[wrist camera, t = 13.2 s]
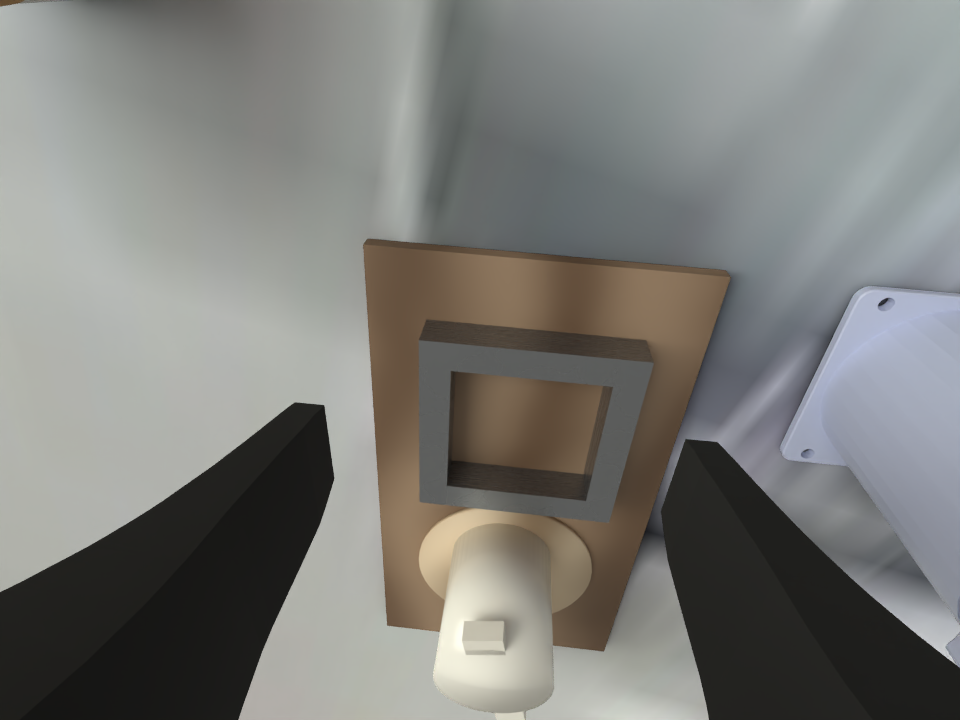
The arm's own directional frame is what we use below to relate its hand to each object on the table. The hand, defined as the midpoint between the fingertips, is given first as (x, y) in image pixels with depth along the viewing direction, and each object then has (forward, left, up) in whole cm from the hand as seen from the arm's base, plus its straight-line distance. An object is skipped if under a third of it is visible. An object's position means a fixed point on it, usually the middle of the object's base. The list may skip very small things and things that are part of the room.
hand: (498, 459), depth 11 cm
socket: (-1, +7, -10) cm, 12 cm away
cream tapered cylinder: (-1, +17, -10) cm, 20 cm away
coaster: (-1, +17, -10) cm, 19 cm away
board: (-1, +12, -10) cm, 16 cm away
